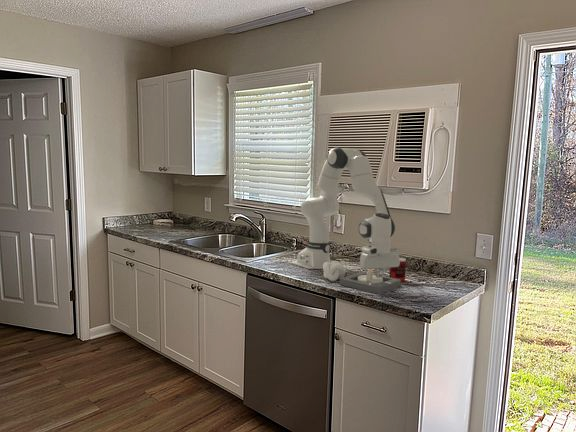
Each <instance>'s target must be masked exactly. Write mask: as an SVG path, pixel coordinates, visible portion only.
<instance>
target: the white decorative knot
mask: <svg viewBox="0 0 576 432" xmlns="http://www.w3.org/2000/svg"><path fill="white" fill-rule="evenodd" d="M322 271H323V277H324V278H325V279H327V280H329V281H331V282H335V281H337V280H340V278H343V277H346V276H345V275H346V274H347V273H346V272H347V270H346V267H345V266H344V265H343V264H342V263H340V262H339V261H338V260H330V263H329V262H325V263H324V264H323V269H322Z"/></svg>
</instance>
